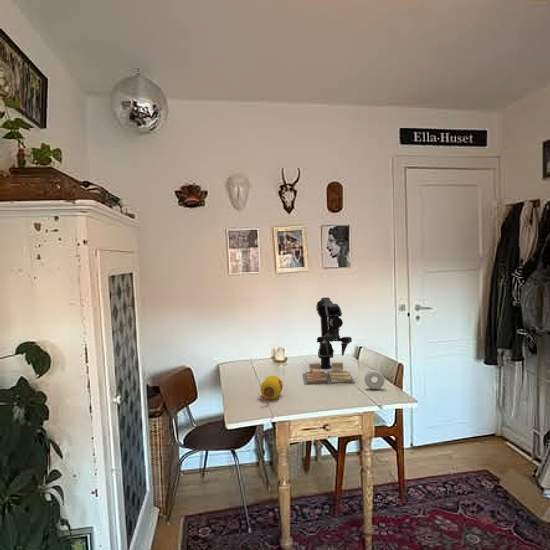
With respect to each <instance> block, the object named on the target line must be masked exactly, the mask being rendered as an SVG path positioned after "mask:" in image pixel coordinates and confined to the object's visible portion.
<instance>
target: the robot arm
mask: <svg viewBox="0 0 550 550" xmlns="http://www.w3.org/2000/svg"><path fill="white" fill-rule="evenodd" d="M315 306H316V308H315V309H316V312H317V315H318V316H319V317H320V333H321V335H320V336H317V338H316V343H319V348H318V351H317V357H318V359H320V369H332V364H331V358H334V352H335V350H334V348H333V345H332V342H341V343H340V345H341V356H342V357H343V356H344V354H345V352H346V349H347V347H348V345H349V344H350V343H352V341H353V339H352V336H342V337H341V336H340V330H341V329H340V328H341V327H343V323H344V322H343V319H342V318H341V317H342V315H343V313H342V309H341V307H340V306H339V304H338V303H333V301H332V300H331V298H330V297H329V296H327V297H321V298H320V300H319V301H317V302H316V305H315Z"/></svg>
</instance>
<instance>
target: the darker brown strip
mask: <svg viewBox="0 0 550 550" xmlns="http://www.w3.org/2000/svg"><path fill="white" fill-rule="evenodd" d="M320 365H321V362H314V363H312V362H311V363H309V371H305V372H304V373H305V375H306V379H307V383H328V380H327V377H326V374H325V373H326V372H325V371H321V367H320ZM312 369H320V376H321V378H318V379H313V371H312Z"/></svg>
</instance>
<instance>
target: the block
mask: <svg viewBox="0 0 550 550" xmlns="http://www.w3.org/2000/svg"><path fill="white" fill-rule="evenodd" d="M312 371H313V379H318V378H321V376H320V371H321V368H320V369H312Z"/></svg>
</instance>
